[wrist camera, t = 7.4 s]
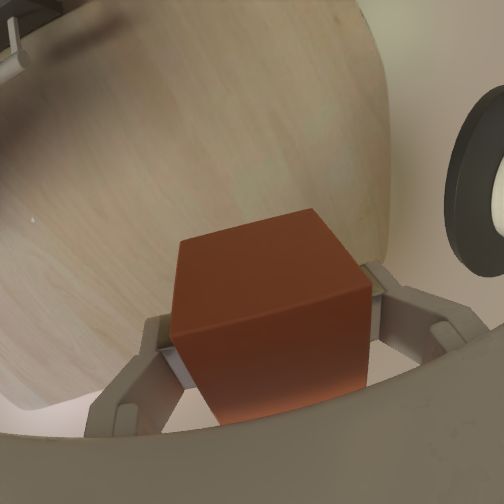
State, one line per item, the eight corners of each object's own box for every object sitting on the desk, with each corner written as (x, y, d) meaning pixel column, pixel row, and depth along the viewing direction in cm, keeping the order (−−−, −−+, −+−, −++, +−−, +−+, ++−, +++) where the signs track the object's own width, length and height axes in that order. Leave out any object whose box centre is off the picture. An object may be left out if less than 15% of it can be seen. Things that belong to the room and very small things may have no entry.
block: (312, 206, 10) (374, 282, 6) (324, 309, 12) (366, 396, 8) (179, 240, 10) (167, 336, 6) (215, 337, 12) (224, 434, 8)
